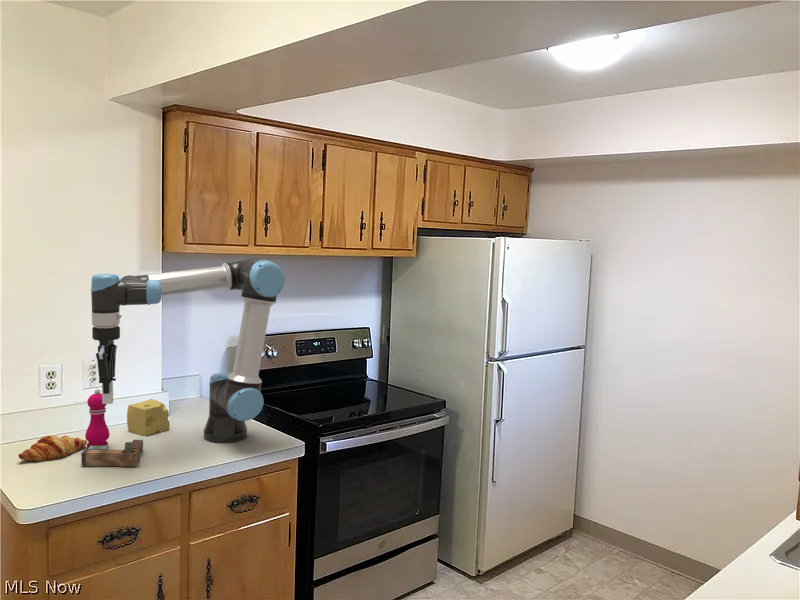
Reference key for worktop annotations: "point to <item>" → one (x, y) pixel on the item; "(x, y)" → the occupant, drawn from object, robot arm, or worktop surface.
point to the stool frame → (128, 446)
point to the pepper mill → (97, 421)
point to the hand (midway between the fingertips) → (107, 403)
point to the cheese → (147, 417)
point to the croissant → (52, 448)
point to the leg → (110, 458)
